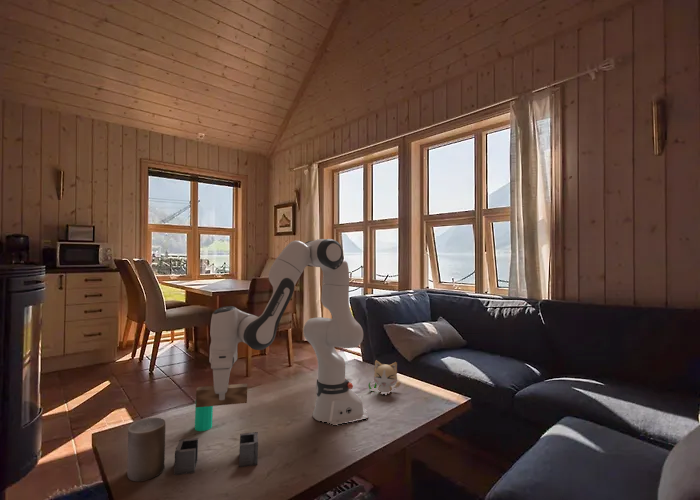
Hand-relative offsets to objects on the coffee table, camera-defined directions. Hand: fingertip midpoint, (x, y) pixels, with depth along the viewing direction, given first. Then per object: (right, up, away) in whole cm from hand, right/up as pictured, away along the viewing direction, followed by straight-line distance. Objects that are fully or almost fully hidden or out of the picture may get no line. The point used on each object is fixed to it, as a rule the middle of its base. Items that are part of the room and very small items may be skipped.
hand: (222, 396), depth 122 cm
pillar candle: (-17, -16, -15) cm, 28 cm away
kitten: (+59, -19, +51) cm, 80 cm away
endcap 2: (+11, -17, -8) cm, 21 cm away
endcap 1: (-7, -16, -12) cm, 21 cm away
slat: (0, -2, 0) cm, 2 cm away
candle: (-11, -17, +12) cm, 23 cm away
